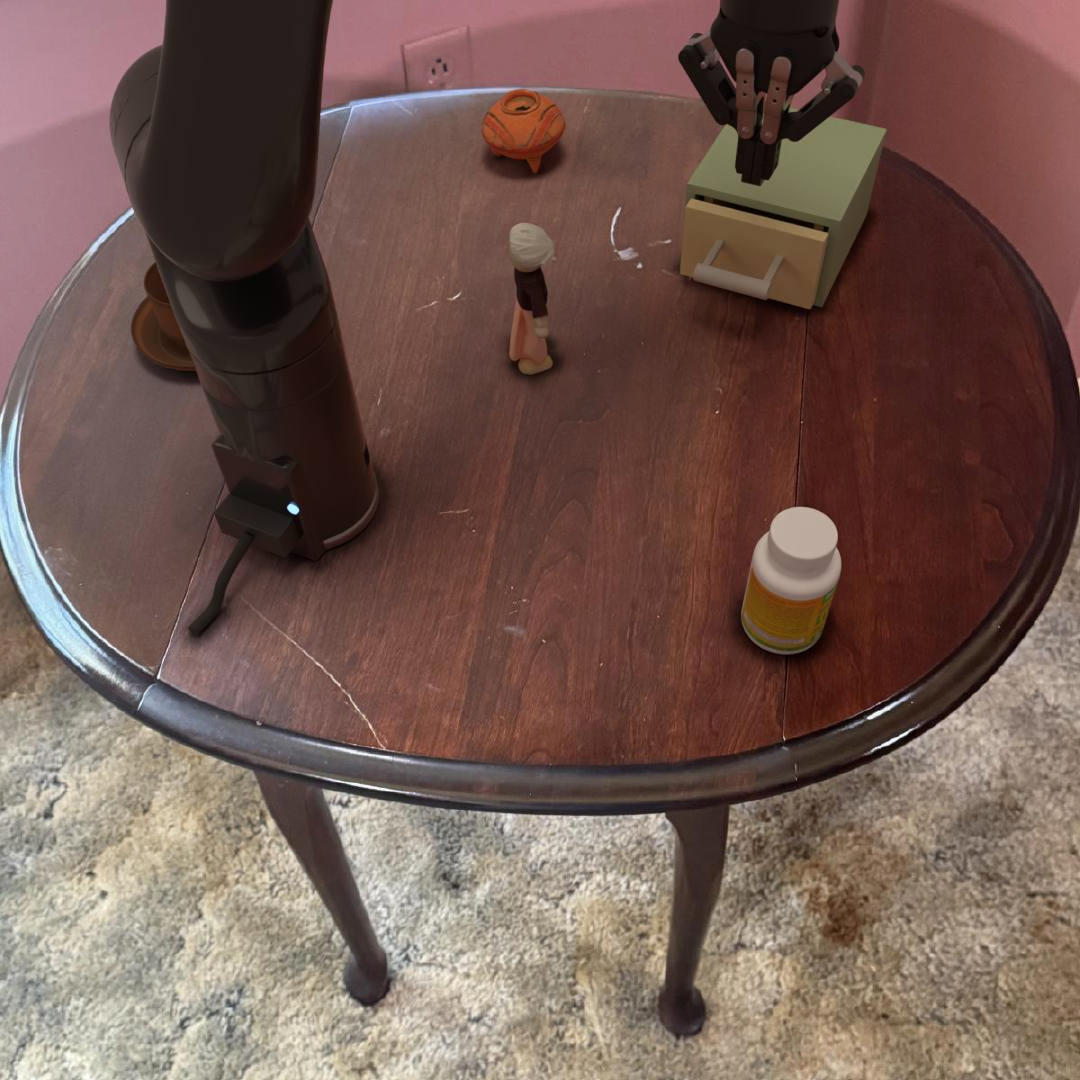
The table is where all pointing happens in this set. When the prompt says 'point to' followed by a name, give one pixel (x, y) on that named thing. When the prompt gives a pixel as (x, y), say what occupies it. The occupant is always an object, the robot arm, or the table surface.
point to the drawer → (753, 251)
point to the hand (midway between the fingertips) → (755, 178)
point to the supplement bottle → (792, 581)
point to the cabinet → (804, 183)
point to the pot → (523, 126)
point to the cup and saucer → (159, 327)
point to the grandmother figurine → (530, 297)
